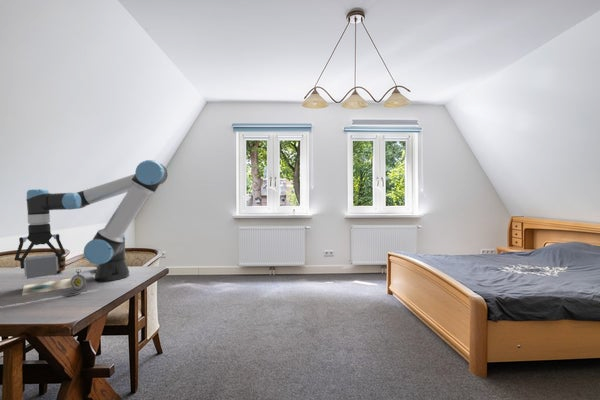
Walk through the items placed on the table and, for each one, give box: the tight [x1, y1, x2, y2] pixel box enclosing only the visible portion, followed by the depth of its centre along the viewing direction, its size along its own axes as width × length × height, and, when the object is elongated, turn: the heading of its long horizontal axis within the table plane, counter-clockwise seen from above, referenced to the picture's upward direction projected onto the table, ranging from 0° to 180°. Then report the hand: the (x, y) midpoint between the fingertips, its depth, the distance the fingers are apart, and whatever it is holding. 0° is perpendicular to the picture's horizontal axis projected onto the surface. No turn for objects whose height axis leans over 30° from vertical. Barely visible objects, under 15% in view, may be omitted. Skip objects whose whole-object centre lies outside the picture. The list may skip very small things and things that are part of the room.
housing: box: [25, 253, 58, 280], centre depth 137 cm, size 10×10×8 cm
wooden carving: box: [54, 253, 68, 273], centre depth 169 cm, size 16×5×10 cm, turn 68°
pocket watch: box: [61, 268, 87, 297], centre depth 131 cm, size 8×8×10 cm
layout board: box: [21, 277, 87, 296], centre depth 140 cm, size 22×19×1 cm
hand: (41, 273), depth 137 cm, fingers closed on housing, 10 cm apart
